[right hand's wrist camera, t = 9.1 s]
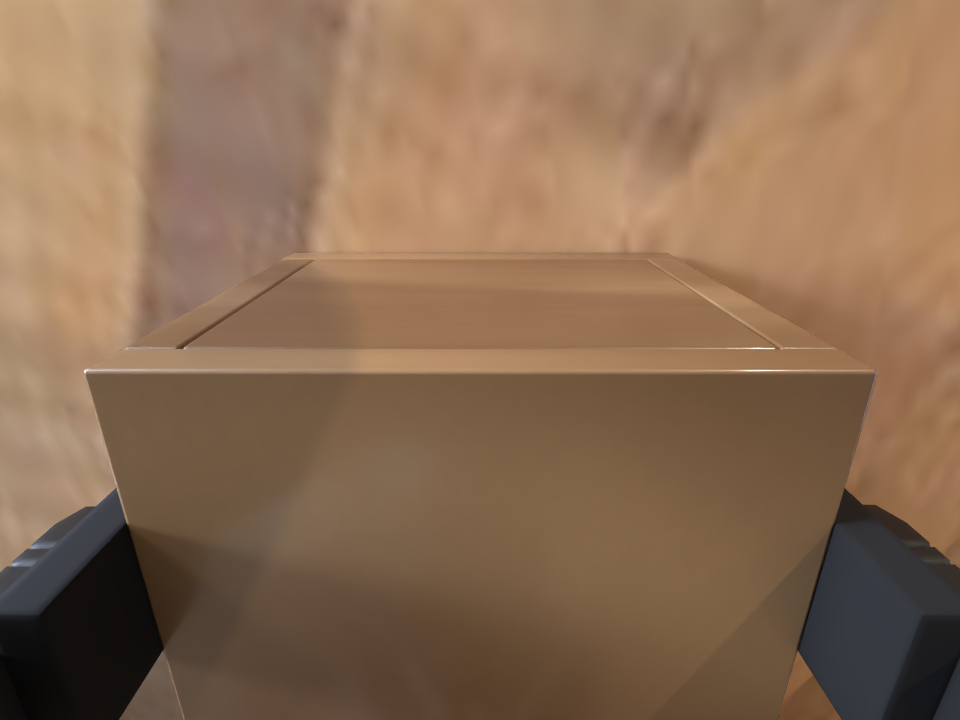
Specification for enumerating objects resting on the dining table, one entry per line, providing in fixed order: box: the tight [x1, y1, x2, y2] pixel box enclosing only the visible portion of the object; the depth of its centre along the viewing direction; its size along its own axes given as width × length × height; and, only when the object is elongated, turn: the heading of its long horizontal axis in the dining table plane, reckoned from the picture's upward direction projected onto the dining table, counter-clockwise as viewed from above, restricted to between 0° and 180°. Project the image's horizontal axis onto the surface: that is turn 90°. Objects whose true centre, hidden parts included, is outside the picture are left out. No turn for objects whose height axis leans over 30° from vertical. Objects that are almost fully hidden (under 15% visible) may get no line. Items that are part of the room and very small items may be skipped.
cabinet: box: [84, 253, 877, 720], centre depth 15 cm, size 16×11×9 cm
